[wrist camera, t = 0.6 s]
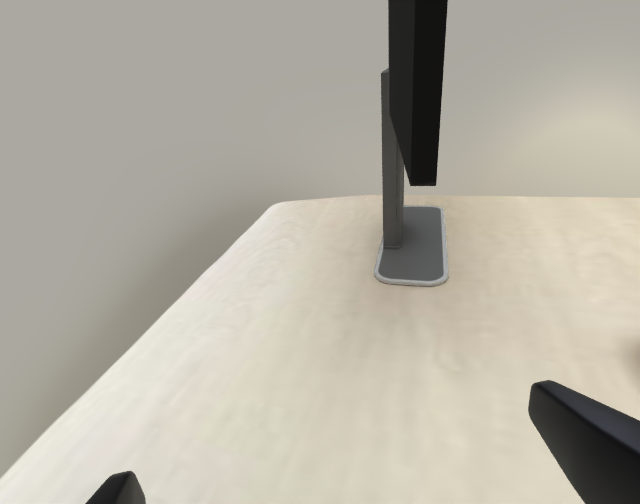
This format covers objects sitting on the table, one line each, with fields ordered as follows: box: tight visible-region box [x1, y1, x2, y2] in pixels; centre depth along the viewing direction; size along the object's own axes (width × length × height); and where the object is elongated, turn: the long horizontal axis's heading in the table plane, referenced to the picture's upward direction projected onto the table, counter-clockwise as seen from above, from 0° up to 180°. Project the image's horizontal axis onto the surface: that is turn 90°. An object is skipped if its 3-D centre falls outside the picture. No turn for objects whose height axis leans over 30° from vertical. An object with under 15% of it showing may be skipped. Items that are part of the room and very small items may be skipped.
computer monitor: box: [374, 0, 448, 286], centre depth 40 cm, size 41×8×40 cm, turn 165°
